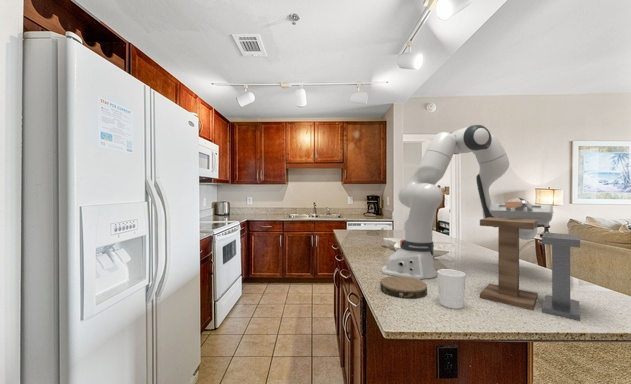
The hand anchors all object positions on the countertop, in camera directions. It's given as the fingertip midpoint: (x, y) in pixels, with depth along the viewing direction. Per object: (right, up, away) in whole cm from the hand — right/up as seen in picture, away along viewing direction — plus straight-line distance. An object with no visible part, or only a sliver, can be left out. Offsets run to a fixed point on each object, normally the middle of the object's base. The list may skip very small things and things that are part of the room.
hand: (517, 202), depth 105 cm
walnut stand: (-13, -31, -14) cm, 37 cm away
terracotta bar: (-4, -1, -5) cm, 6 cm away
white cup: (-35, -32, -19) cm, 51 cm away
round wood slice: (-46, -32, -7) cm, 56 cm away
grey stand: (-3, -31, -23) cm, 39 cm away
